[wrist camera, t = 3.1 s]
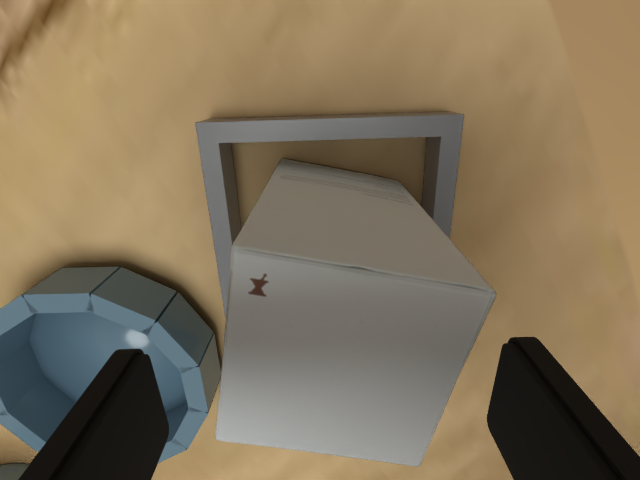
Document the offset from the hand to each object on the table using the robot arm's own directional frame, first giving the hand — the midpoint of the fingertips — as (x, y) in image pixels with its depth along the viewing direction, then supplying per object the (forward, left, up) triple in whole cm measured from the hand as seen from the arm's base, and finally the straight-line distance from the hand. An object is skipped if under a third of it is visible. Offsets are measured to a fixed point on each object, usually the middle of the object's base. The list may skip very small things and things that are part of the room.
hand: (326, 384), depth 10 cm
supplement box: (0, 0, -14) cm, 14 cm away
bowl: (+15, +9, -13) cm, 22 cm away
